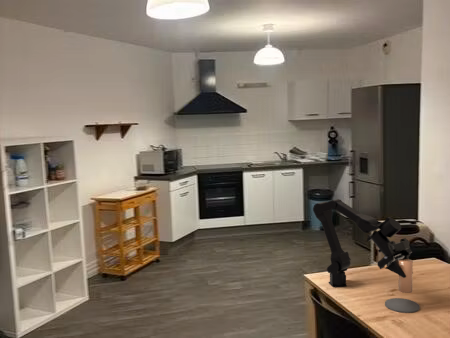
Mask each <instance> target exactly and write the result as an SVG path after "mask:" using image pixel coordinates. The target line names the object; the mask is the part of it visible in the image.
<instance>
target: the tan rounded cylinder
mask: <svg viewBox="0 0 450 338" xmlns="http://www.w3.org/2000/svg"><path fill="white" fill-rule="evenodd" d="M398 262H399V266H400V267H401V269H402V270H403V272H404V273H405V275H406V277H405V278H403V277H401V276H400V275H398V292H400V293H403V294H412V293H413V274H414V272H413V271H414V268H413V266H414V265H413V260H412V259H410V258H409V259H399V261H398Z"/></svg>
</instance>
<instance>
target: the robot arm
mask: <svg viewBox="0 0 450 338" xmlns="http://www.w3.org/2000/svg"><path fill="white" fill-rule="evenodd" d="M333 210H336V211H337V212H339V214H341V215H342V216H345V217H346V218H348V219H349V220H350V221H352V222H353V223H355V225H356V226H357V228H358V229H359V230H360V231H361V232H363V233H365V234H367V237H366V241H367V242H371V241H372V242H373V243H374V244H375V246H376V247H377V248H378V250H377V252H378V253H382V254H383V257H382V258H380V260H378V261H377V267H378V268H379V269H380V270H382V269H385V270H389V271H391V272H392V273H395V274H396V275H398V276H399V275H400V276H401V277H403V278H405V277H406V275H405V273H404V272H403V270H402V269H401V267H400V266H399V259H410V256H411V254H412V253H413V251H412V249H411V247H410V244H411V242H410V241H409V240H408V239H407V238H406V237H403V238H401V239H400V241H399V242H395V241H394V240H390V239H389V238H392V237H395V235H396V234H397V233H398V232H399V231H401V230H402V225H401V223H400V222H399V221H397V220H396V219H394V218H392V217H391V216H388V217H386V218H385V220H383V222H382V221H379V220H377V219H376V218H375V217H373V216H370V215H367V214H364V213H361V212H359V211H358V210H356V209H354V207H351V206H350V205H348V204H347V203H345V202H344V201H342V199H339V198H336V199H332V200H330V201H322V202H317V203H315V204H314V205H313V208H312V211H313V213H314V215H315V217H316V219H317V220H318V221H319V222H320V223H321V226H322V228H323V231H324V235H325V237H326V239H327V243H328V246H329V248H330V252H331V254H330V263H331V264H330V265H328V267H327V268H326V271H327V273H328V274H329V281H328V282H327V283H328V284H329V285H331V287H333V288H341V287H347V286H348V285H347V275H346V272H347V271H348V268H349V267H350V266H351V258H350V255H349V252H348V251H345V250H344V249H342V246H341V243H340V240H339V237H338V235H337V232H336V229H335V226H334V223H333V219H332V218H333ZM370 233H371V234H370ZM385 266H386V267H385Z"/></svg>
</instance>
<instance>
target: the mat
mask: <svg viewBox="0 0 450 338" xmlns="http://www.w3.org/2000/svg"><path fill="white" fill-rule="evenodd" d="M384 305H385V307H386V308H387V309H388V310H390V311H393V312H396V313H403V314H413V313H417V312H419V311H420V307H421V306H420V304H419V303H418V302H416V301H414V300H412V299H408V298H402V297H401V298H400V297H393V298H389V299H386V300H385V301H384Z"/></svg>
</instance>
